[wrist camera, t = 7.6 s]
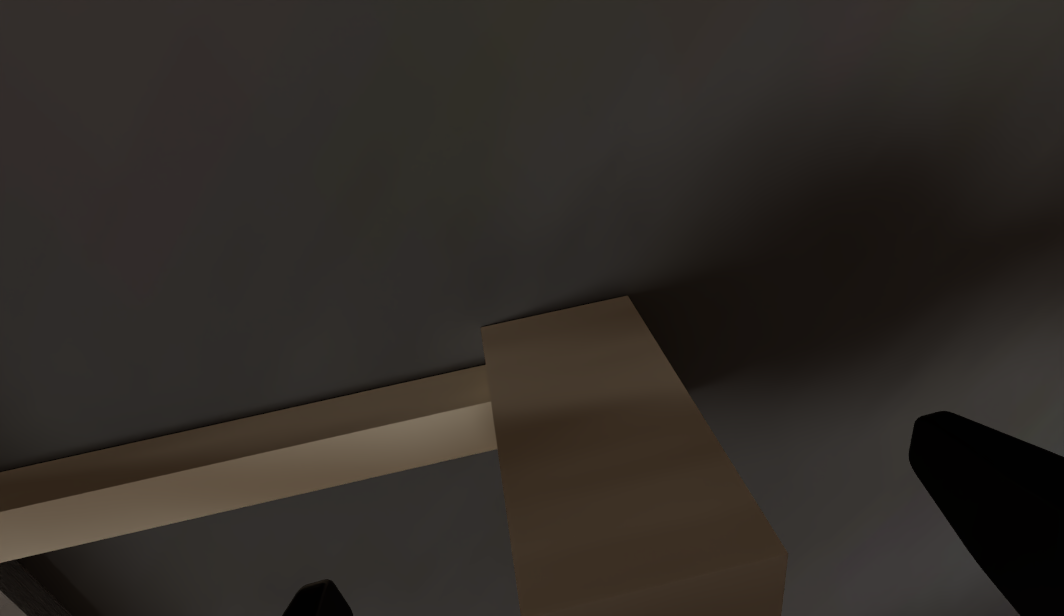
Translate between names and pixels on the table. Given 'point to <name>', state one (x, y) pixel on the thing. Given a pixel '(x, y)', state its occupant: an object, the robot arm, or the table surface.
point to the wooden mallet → (465, 429)
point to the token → (25, 594)
